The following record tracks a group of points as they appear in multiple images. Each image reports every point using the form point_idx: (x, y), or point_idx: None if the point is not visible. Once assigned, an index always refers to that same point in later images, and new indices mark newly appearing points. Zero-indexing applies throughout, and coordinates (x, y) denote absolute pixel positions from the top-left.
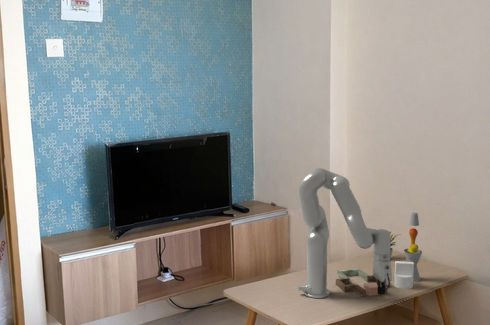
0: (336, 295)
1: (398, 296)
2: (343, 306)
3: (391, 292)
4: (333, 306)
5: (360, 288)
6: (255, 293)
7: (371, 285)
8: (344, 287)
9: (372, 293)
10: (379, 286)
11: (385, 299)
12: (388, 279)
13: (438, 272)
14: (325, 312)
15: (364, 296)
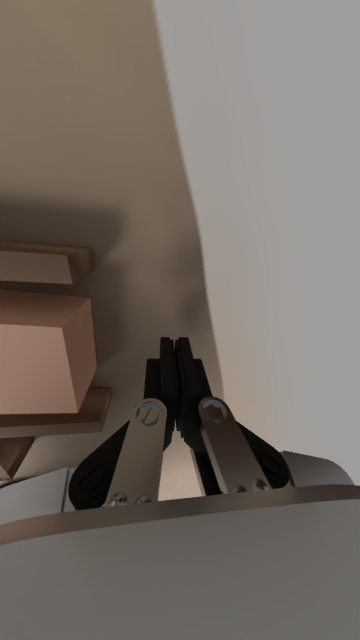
0: (73, 465)
1: (167, 170)
2: (182, 465)
3: (49, 168)
4: (170, 481)
5: (54, 434)
6: None
7: (13, 384)
8: (13, 469)
9: (91, 358)
10: (183, 433)
11: (183, 313)
12: (340, 537)
13: None
14: (199, 495)
15: (110, 394)
